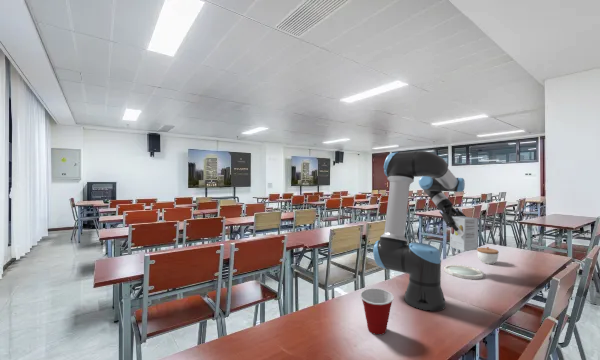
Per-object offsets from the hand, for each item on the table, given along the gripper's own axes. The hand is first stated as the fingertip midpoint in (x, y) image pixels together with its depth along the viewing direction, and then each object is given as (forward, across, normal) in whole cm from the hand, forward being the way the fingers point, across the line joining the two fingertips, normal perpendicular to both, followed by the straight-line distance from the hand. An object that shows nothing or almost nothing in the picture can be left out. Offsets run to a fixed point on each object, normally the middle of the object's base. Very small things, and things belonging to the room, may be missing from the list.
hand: (469, 234), depth 145 cm
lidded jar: (+9, -31, -21) cm, 39 cm away
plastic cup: (+30, +81, 0) cm, 86 cm away
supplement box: (+4, 0, -8) cm, 9 cm away
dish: (+13, 0, -17) cm, 21 cm away
